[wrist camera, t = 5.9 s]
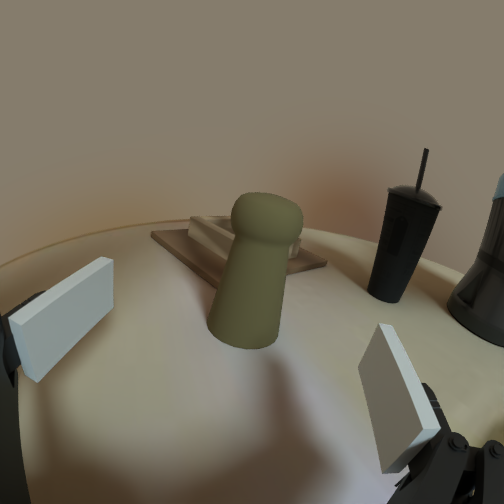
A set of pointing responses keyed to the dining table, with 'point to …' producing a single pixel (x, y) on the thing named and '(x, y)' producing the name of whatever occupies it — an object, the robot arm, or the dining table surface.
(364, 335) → the dining table surface
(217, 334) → the olive green peg doll
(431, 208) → the drinking cup
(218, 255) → the well board
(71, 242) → the dining table surface
